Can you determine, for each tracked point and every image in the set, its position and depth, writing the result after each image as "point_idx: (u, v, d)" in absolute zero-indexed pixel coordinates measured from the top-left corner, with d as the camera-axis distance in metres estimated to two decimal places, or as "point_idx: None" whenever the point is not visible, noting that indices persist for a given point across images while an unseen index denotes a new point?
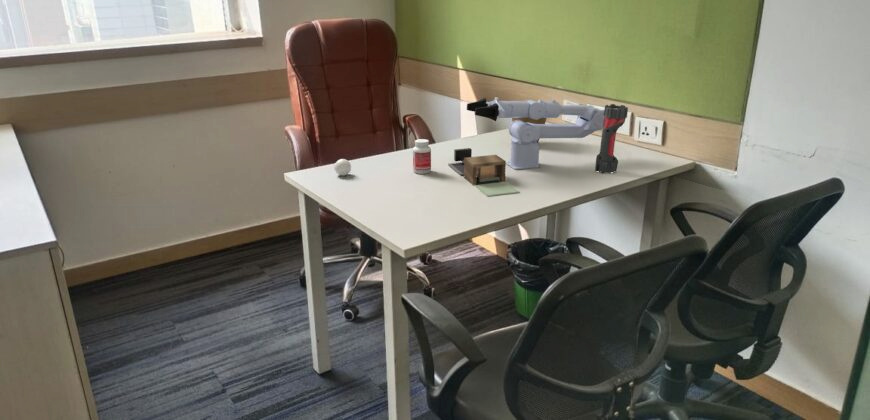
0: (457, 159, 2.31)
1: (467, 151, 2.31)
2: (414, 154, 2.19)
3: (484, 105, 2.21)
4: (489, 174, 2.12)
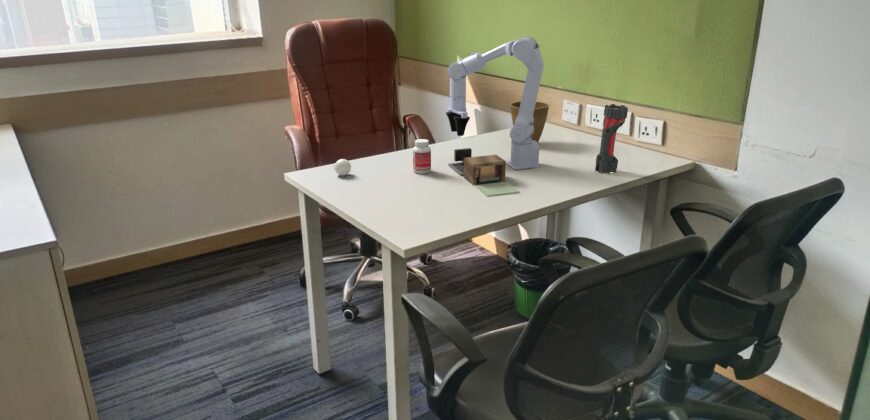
0: (457, 159, 2.31)
1: (467, 151, 2.31)
2: (414, 154, 2.19)
3: (453, 114, 2.35)
4: (489, 174, 2.12)
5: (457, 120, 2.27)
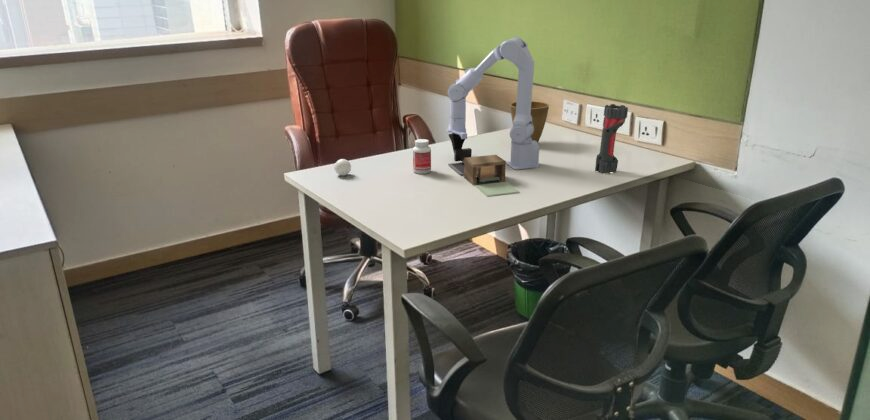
0: (457, 159, 2.31)
1: (467, 151, 2.31)
2: (414, 154, 2.19)
3: None
4: (489, 174, 2.12)
5: (454, 139, 2.33)
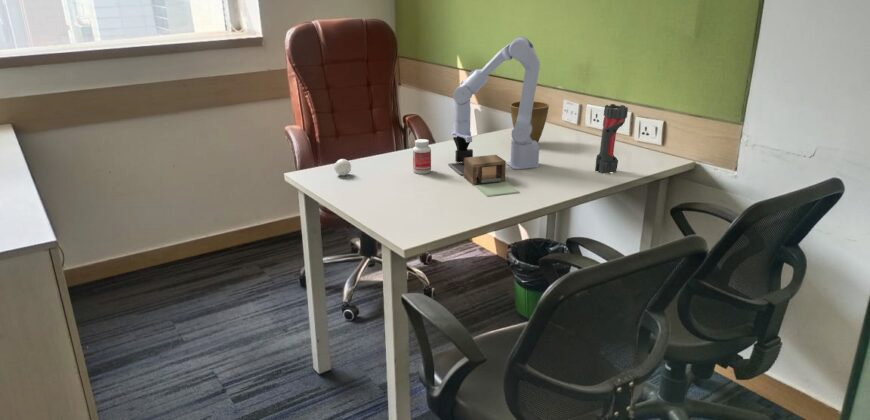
0: (458, 160, 2.30)
1: (468, 152, 2.30)
2: (414, 154, 2.19)
3: None
4: (491, 175, 2.11)
5: (459, 142, 2.28)
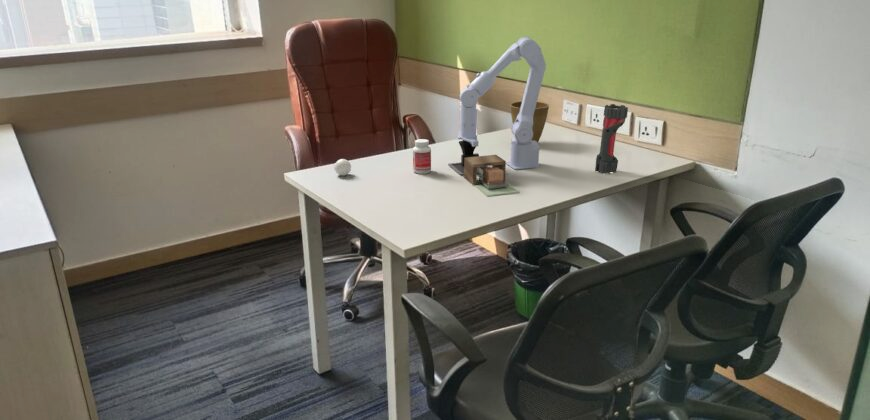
0: None
1: (474, 156, 2.25)
2: (414, 154, 2.19)
3: None
4: (498, 181, 2.06)
5: (464, 146, 2.23)
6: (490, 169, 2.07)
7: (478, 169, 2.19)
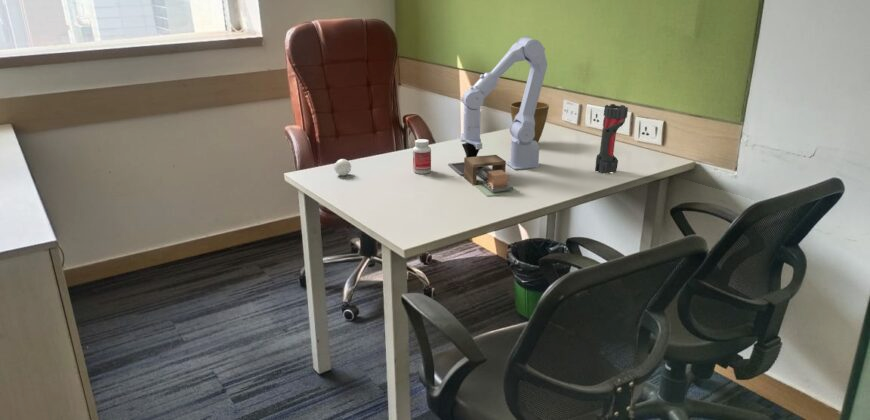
0: None
1: None
2: (414, 154, 2.19)
3: None
4: (502, 184, 2.03)
5: (468, 149, 2.20)
6: (495, 172, 2.04)
7: (482, 172, 2.16)
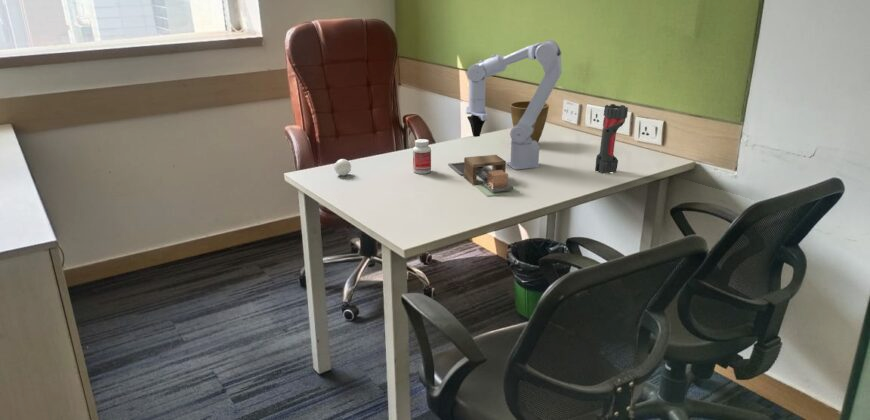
0: None
1: None
2: (414, 154, 2.19)
3: None
4: (502, 184, 2.03)
5: (474, 121, 2.26)
6: (495, 172, 2.04)
7: (482, 172, 2.16)
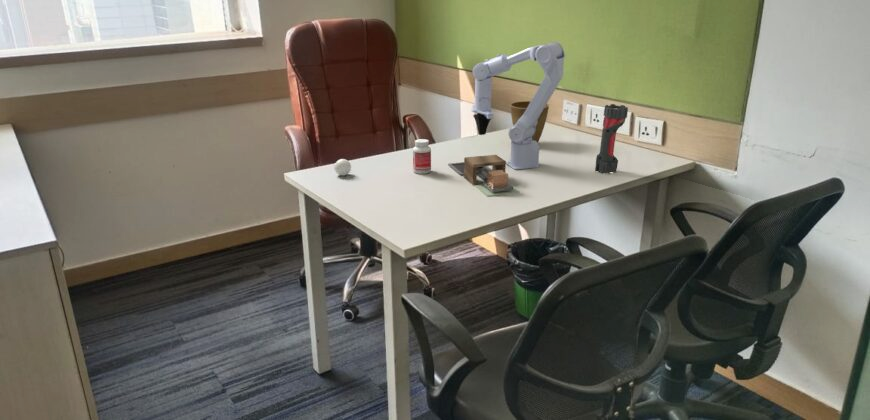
0: None
1: None
2: (414, 154, 2.19)
3: None
4: (502, 184, 2.03)
5: (479, 119, 2.29)
6: (495, 172, 2.04)
7: (482, 172, 2.16)
